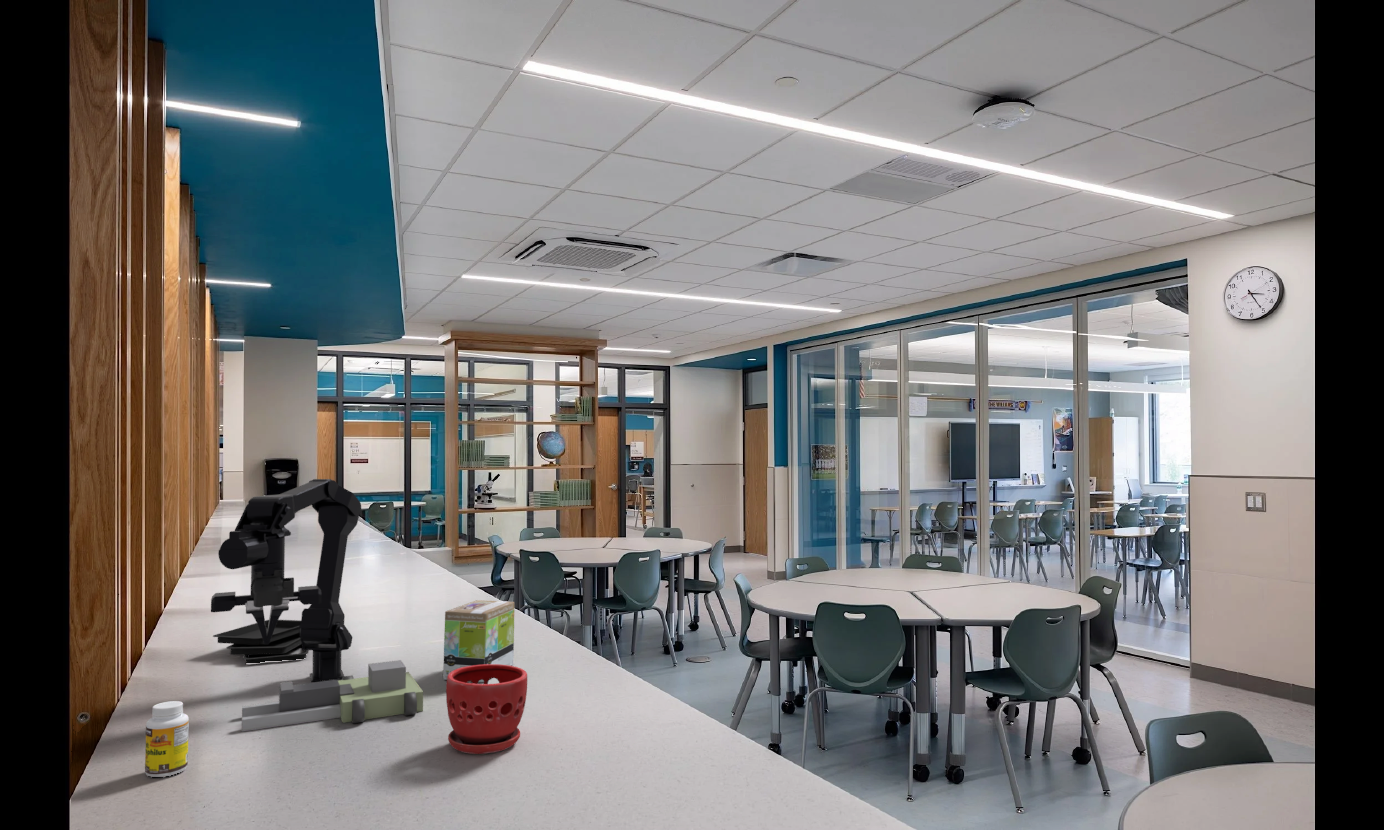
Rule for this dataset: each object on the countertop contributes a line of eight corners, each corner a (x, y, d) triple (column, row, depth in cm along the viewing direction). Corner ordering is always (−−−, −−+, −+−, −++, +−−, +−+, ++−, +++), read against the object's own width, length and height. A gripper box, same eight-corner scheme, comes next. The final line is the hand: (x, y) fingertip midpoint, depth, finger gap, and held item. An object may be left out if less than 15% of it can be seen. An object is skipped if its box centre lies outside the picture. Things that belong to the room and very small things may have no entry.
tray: (329, 658, 199) (330, 636, 199) (217, 672, 186) (217, 649, 186) (309, 635, 224) (309, 615, 224) (208, 646, 211) (209, 625, 211)
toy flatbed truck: (242, 707, 160) (242, 667, 160) (406, 685, 174) (406, 648, 174) (241, 742, 141) (242, 696, 141) (425, 715, 155) (426, 673, 155)
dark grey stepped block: (278, 713, 156) (279, 682, 156) (336, 705, 160) (337, 675, 161) (279, 722, 151) (280, 690, 151) (339, 713, 155) (340, 683, 155)
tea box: (486, 683, 176) (486, 612, 176) (441, 681, 178) (442, 610, 178) (515, 665, 191) (515, 599, 191) (474, 663, 193) (474, 598, 193)
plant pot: (451, 764, 130) (452, 686, 131) (441, 738, 142) (441, 667, 143) (535, 752, 136) (535, 677, 136) (518, 727, 148) (518, 659, 148)
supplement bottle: (135, 776, 126) (137, 708, 127) (168, 763, 131) (170, 697, 132) (164, 781, 125) (165, 711, 125) (196, 767, 130) (197, 700, 130)
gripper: (210, 570, 150) (208, 658, 149) (324, 563, 159) (323, 646, 158) (212, 563, 160) (211, 646, 159) (319, 556, 168) (318, 635, 168)
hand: (266, 643), depth 161 cm, fingers closed
